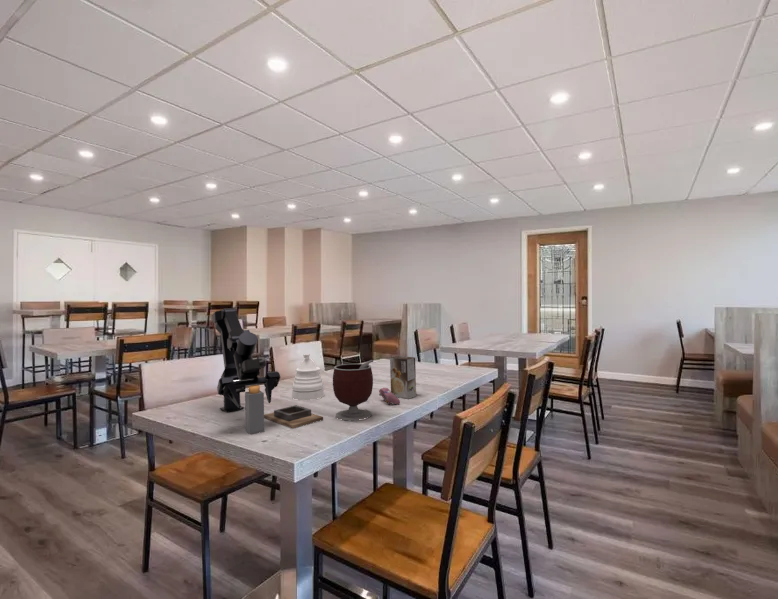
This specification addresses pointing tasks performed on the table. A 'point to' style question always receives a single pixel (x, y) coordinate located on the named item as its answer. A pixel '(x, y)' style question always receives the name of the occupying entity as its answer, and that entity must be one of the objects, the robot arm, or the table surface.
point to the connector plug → (254, 410)
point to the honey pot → (307, 381)
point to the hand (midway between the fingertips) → (255, 404)
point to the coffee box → (403, 376)
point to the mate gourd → (353, 388)
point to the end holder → (293, 416)
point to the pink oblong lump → (388, 396)
